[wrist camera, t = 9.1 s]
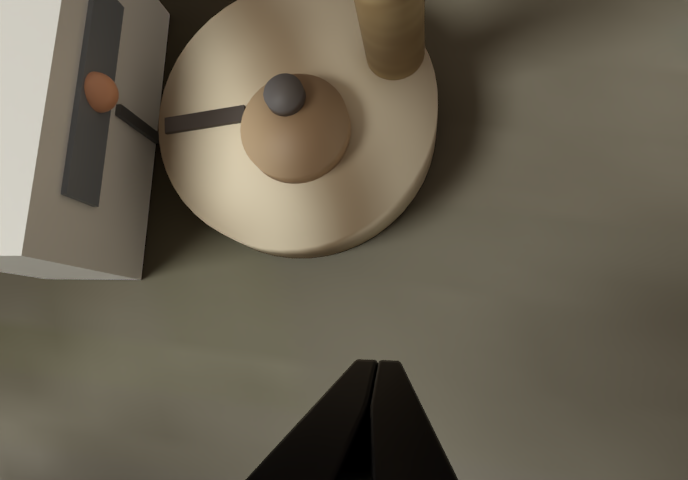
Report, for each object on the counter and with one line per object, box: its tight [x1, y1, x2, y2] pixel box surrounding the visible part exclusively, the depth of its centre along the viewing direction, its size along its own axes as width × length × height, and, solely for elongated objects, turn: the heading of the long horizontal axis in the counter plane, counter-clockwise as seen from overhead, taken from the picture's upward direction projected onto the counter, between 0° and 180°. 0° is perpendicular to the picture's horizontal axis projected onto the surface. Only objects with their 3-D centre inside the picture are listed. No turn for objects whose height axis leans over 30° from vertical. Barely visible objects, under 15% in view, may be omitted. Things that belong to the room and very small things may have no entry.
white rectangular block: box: [0, 0, 170, 280], centre depth 21 cm, size 14×6×7 cm, turn 179°
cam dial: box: [158, 0, 438, 258], centre depth 17 cm, size 12×12×12 cm
